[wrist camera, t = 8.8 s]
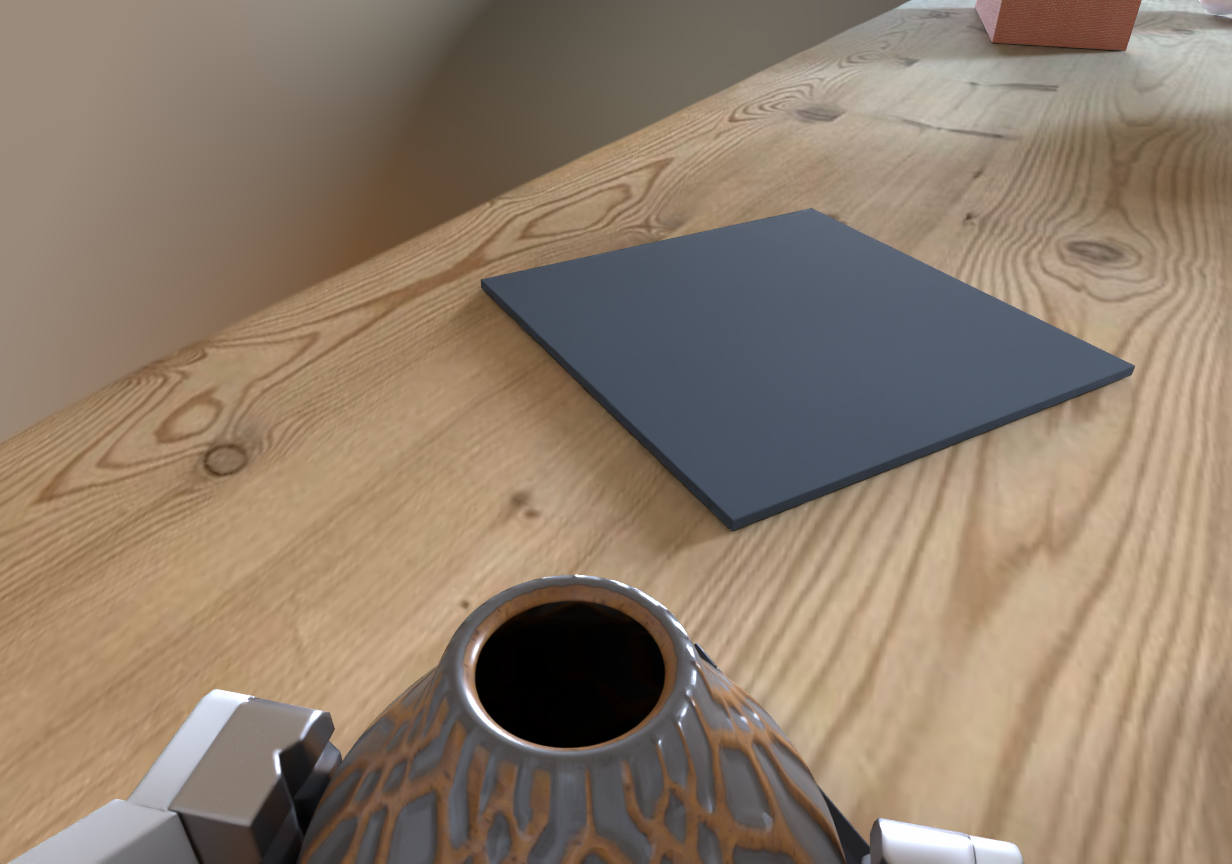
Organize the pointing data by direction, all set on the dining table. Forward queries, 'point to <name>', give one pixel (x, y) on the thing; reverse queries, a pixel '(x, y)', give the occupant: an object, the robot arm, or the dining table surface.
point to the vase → (572, 750)
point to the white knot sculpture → (1217, 6)
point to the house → (1060, 22)
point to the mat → (792, 356)
